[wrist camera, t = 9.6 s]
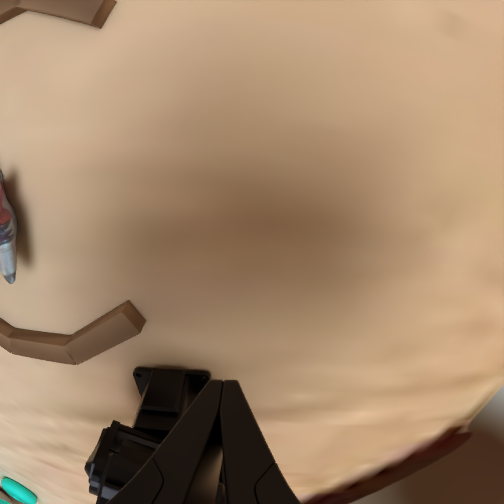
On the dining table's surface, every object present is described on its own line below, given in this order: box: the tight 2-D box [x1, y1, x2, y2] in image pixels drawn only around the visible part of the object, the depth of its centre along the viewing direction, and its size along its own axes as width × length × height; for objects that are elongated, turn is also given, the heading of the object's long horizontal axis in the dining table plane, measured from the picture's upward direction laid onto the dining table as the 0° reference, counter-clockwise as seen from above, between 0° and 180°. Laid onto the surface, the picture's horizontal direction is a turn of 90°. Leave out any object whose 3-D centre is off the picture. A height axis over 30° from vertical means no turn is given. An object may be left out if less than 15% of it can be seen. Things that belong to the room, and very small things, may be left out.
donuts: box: [0, 478, 37, 504], centre depth 41 cm, size 10×10×10 cm
